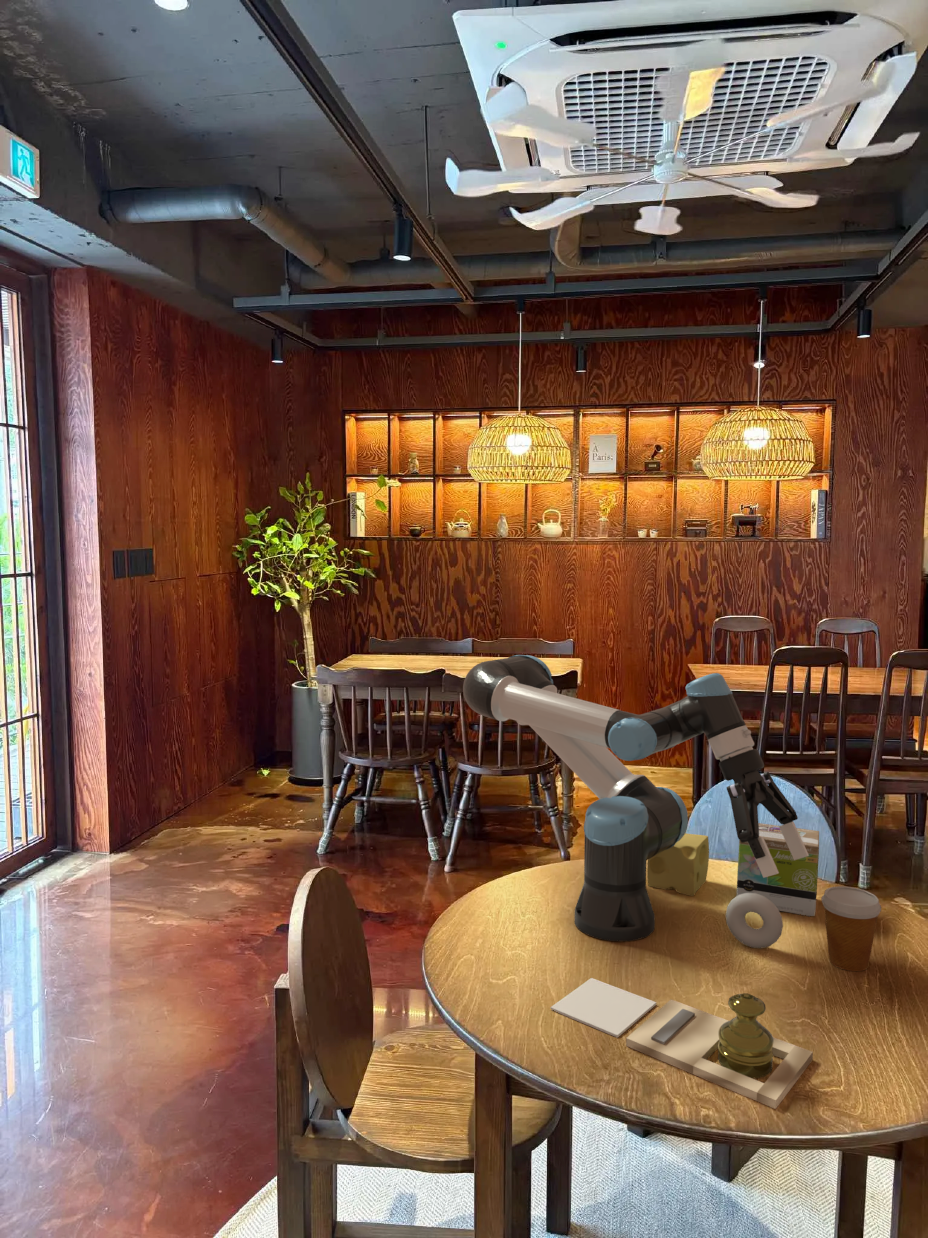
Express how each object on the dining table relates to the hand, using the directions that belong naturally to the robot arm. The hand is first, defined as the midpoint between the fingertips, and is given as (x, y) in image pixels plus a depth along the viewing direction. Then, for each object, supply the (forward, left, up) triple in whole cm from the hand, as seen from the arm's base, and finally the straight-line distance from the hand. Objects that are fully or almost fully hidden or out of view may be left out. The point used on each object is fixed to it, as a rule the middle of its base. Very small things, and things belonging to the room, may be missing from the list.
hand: (786, 866), depth 157 cm
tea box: (-8, +19, -15) cm, 26 cm away
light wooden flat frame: (+5, -38, -15) cm, 41 cm away
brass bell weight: (+9, -38, -15) cm, 42 cm away
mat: (-14, -38, -15) cm, 44 cm away
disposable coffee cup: (+11, +2, -15) cm, 19 cm away
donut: (-4, -3, -15) cm, 16 cm away
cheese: (-28, +15, -15) cm, 35 cm away
